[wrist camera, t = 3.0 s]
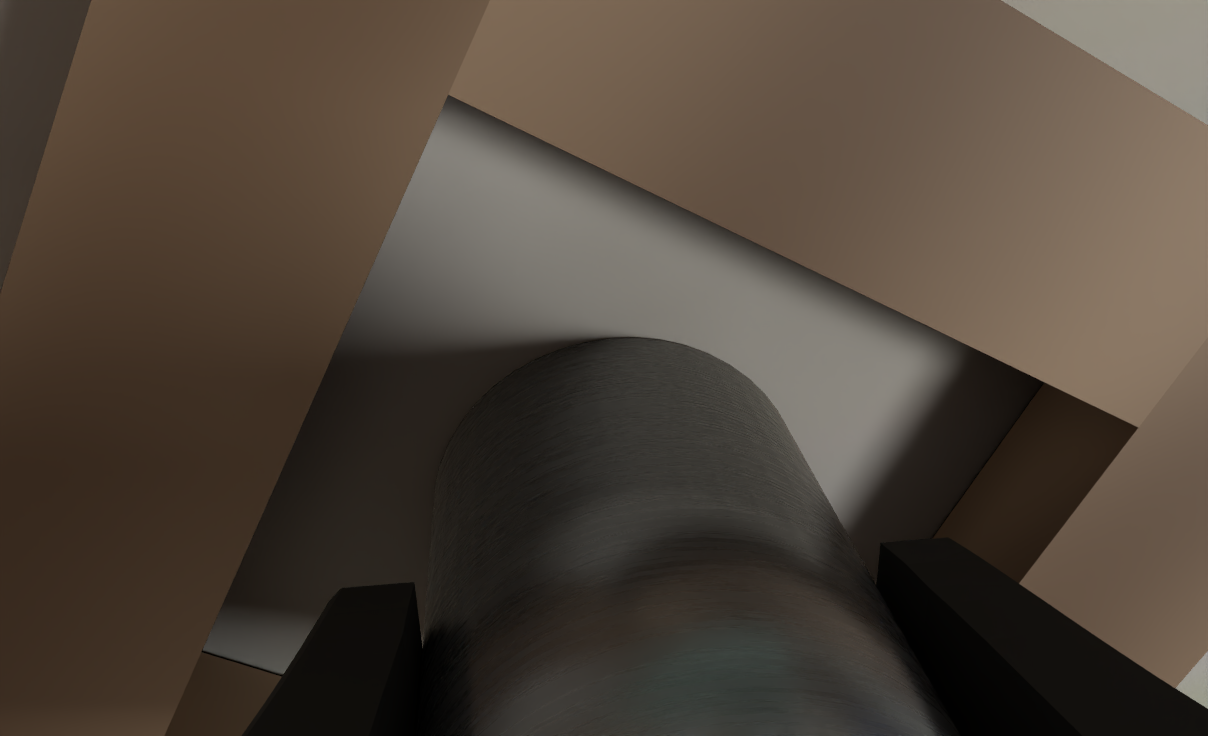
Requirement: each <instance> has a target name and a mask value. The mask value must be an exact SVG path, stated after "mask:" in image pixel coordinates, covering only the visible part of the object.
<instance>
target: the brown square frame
mask: <svg viewBox="0 0 1208 736" xmlns="http://www.w3.org/2000/svg"><path fill="white" fill-rule="evenodd" d="M448 95H450V96H452V97H454V98H456V99H458V100H460V101H462V102H465V103H467V104H469V105H471V106H473V107H475V108H477V109H479V110H481V111H483V112H485V113H487V114H489V115H491V116H494V117H496V118H498V119H500V120H502V121H504V122H506V123H508V124H510V125H512V126H514V127H516V128H518V129H521V130H523V131H525V132H527V133H529V134H531V135H533V136H535V137H537V138H539V139H541V140H543V141H545V142H547V143H550V144H552V145H554V146H556V147H558V148H560V149H562V150H564V151H566V152H568V153H570V154H572V155H574V156H576V157H579V158H581V159H583V160H585V161H587V162H589V163H591V164H593V165H595V166H597V167H599V168H601V169H603V170H606V171H608V172H610V173H612V174H614V175H616V176H618V177H620V178H622V179H624V180H626V181H628V182H630V183H632V184H635V185H637V186H639V187H641V188H643V189H645V190H647V191H649V192H651V193H653V194H655V195H657V196H659V197H661V198H664V199H666V200H668V201H670V202H672V203H674V204H676V205H678V206H680V207H682V208H684V209H686V210H688V211H691V212H693V213H695V214H697V215H699V216H701V217H703V218H705V219H707V220H709V221H711V222H713V223H715V224H717V225H720V226H722V227H724V228H726V229H728V230H730V231H732V232H734V233H736V234H738V235H740V236H742V237H744V238H747V239H749V240H751V241H753V242H755V243H757V244H759V245H761V246H763V247H765V248H767V249H769V250H771V251H773V252H776V253H778V254H780V255H782V256H784V257H786V258H788V259H790V260H792V261H794V262H796V263H798V264H800V265H802V266H805V267H807V268H809V269H811V270H813V271H815V272H817V273H819V274H821V275H823V276H825V277H827V278H829V279H832V280H834V281H836V282H838V283H840V284H842V285H844V286H846V287H848V288H850V289H852V290H854V291H856V292H858V293H861V294H863V295H865V296H867V297H869V298H871V299H873V300H875V301H877V302H879V303H881V304H883V305H885V306H888V307H890V308H892V309H894V310H896V311H898V312H900V313H902V314H904V315H906V316H908V317H910V318H912V319H914V320H917V321H919V322H921V323H923V324H925V325H927V326H929V327H931V328H933V329H935V330H937V331H939V332H941V333H943V334H946V335H948V336H950V337H952V338H954V339H956V340H958V341H960V342H962V343H964V344H966V345H968V346H970V347H973V348H975V349H977V350H979V351H981V352H983V353H985V354H987V355H989V356H991V357H993V358H995V359H997V360H999V361H1002V362H1004V363H1006V364H1008V365H1010V366H1012V367H1014V368H1016V369H1018V370H1020V371H1022V372H1024V373H1026V374H1028V375H1031V376H1033V377H1035V378H1037V379H1039V380H1041V381H1043V382H1044V384H1043V385H1042V387H1041V388H1040V389H1039V391H1038V392H1037V393H1036V395H1035V396H1034V398H1033V399H1032V400H1031V402H1030V403H1029V405H1028V406H1027V407H1026V409H1025V410H1024V412H1023V413H1022V414H1021V416H1020V417H1019V419H1018V420H1017V421H1016V423H1015V424H1014V426H1013V427H1012V428H1011V430H1010V431H1009V433H1008V434H1007V435H1006V437H1005V438H1004V439H1003V441H1002V442H1001V444H1000V445H999V446H998V448H997V449H996V451H995V452H994V453H993V455H992V456H991V458H990V459H989V460H988V462H987V463H986V465H985V466H984V467H983V469H982V470H981V472H980V473H979V474H978V476H977V477H976V479H975V480H974V481H973V483H972V484H971V486H970V487H969V488H968V490H967V491H966V492H965V494H964V495H963V497H962V498H961V499H960V501H959V502H958V504H957V505H956V506H955V508H954V509H953V511H952V512H951V513H950V515H949V516H948V518H947V519H946V520H945V522H944V523H943V525H942V526H941V527H940V529H939V530H938V532H937V533H936V534H935V536H934V537H933V538H932V539H934V538H946V537H948V538H950V539H952V540H953V541H955V542H957V543H958V544H960V545H962V546H963V547H965V548H967V549H968V550H970V551H971V552H973V553H974V554H976V555H977V556H979V557H980V558H982V559H983V560H985V561H986V562H988V563H989V564H991V565H992V566H994V567H995V568H997V569H998V570H1000V571H1001V572H1003V573H1004V574H1006V575H1007V576H1009V577H1010V578H1012V579H1013V580H1015V581H1016V582H1017V583H1019V584H1020V585H1022V586H1023V587H1025V588H1026V589H1028V590H1029V591H1031V592H1032V593H1034V594H1035V595H1036V596H1038V597H1039V598H1041V599H1042V600H1044V601H1045V602H1047V603H1048V604H1050V605H1051V606H1052V607H1054V608H1055V609H1057V610H1058V611H1060V612H1061V613H1063V614H1064V615H1066V616H1067V617H1069V618H1070V619H1071V620H1073V621H1074V622H1076V623H1077V624H1079V625H1080V626H1082V627H1083V628H1085V629H1086V630H1088V631H1089V632H1091V633H1092V634H1094V635H1095V636H1097V637H1098V638H1099V639H1101V640H1102V641H1104V642H1105V643H1107V644H1108V645H1110V646H1111V647H1113V648H1114V649H1116V650H1117V651H1119V652H1120V653H1122V654H1123V655H1125V656H1126V657H1128V658H1129V659H1131V660H1132V661H1134V662H1135V663H1137V664H1139V665H1140V666H1142V667H1143V668H1145V669H1146V670H1148V671H1149V672H1151V673H1152V674H1154V675H1155V676H1157V677H1158V678H1160V679H1161V680H1163V681H1165V682H1166V683H1168V684H1169V685H1171V686H1172V687H1174V688H1176V687H1177V686H1178V684H1179V683H1180V682H1181V681H1182V680H1183V679H1184V677H1185V676H1186V675H1187V674H1188V673H1189V672H1190V671H1191V669H1192V668H1193V667H1194V666H1195V665H1196V664H1197V662H1198V661H1199V660H1200V659H1201V658H1202V657H1203V656H1204V654H1205V653H1206V652H1207V651H1208V125H1206V124H1205V123H1203V122H1201V121H1200V120H1198V119H1196V118H1195V117H1193V116H1192V115H1190V114H1188V113H1187V112H1185V111H1183V110H1182V109H1180V108H1178V107H1177V106H1175V105H1173V104H1172V103H1170V102H1168V101H1167V100H1165V99H1163V98H1162V97H1160V96H1158V95H1157V94H1155V93H1153V92H1152V91H1150V90H1148V89H1147V88H1145V87H1144V86H1142V85H1140V84H1139V83H1137V82H1135V81H1134V80H1132V79H1130V78H1129V77H1127V76H1125V75H1124V74H1122V73H1120V72H1119V71H1117V70H1115V69H1114V68H1112V67H1110V66H1109V65H1107V64H1105V63H1104V62H1102V61H1100V60H1099V59H1097V58H1095V57H1094V56H1092V55H1091V54H1089V53H1087V52H1086V51H1084V50H1082V49H1081V48H1079V47H1077V46H1076V45H1074V44H1072V43H1071V42H1069V41H1067V40H1066V39H1064V38H1062V37H1061V36H1059V35H1057V34H1056V33H1054V32H1052V31H1051V30H1049V29H1047V28H1046V27H1044V26H1043V25H1041V24H1039V23H1038V22H1036V21H1034V20H1033V19H1031V18H1029V17H1028V16H1026V15H1024V14H1023V13H1021V12H1019V11H1018V10H1016V9H1014V8H1013V7H1011V6H1009V5H1008V4H1006V3H1004V2H1003V1H1001V0H91V2H90V6H89V9H88V12H87V15H86V19H85V22H84V25H83V28H82V31H81V35H80V38H79V41H78V44H77V48H76V51H75V54H74V57H73V60H72V64H71V67H70V70H69V73H68V77H67V80H66V83H65V86H64V89H63V93H62V96H61V99H60V102H59V106H58V109H57V112H56V115H55V118H54V122H53V125H52V128H51V131H50V134H49V138H48V141H47V144H46V147H45V151H44V154H43V157H42V160H41V163H40V167H39V170H38V173H37V176H36V180H35V183H34V186H33V189H32V192H31V196H30V199H29V202H28V205H27V209H26V212H25V215H24V218H23V221H22V225H21V228H20V231H19V234H18V238H17V241H16V244H15V247H14V250H13V254H12V257H11V260H10V263H9V266H8V270H7V273H6V276H5V279H4V283H3V286H2V289H1V292H0V736H242V734H243V733H244V731H245V730H246V729H247V727H248V726H249V724H250V723H251V722H252V720H253V719H254V717H255V716H256V715H257V713H258V712H259V710H260V709H261V707H262V706H263V705H264V703H265V702H266V700H267V699H268V697H269V696H270V694H271V693H272V691H273V690H274V688H275V687H276V685H277V683H278V682H279V680H280V679H281V676H278V675H275V674H272V673H268V672H265V671H262V670H258V669H255V668H252V667H248V666H245V665H242V664H239V663H235V662H232V661H229V660H225V659H222V658H219V657H215V656H212V655H209V654H205V653H202V650H203V647H204V645H205V643H206V641H207V638H208V636H209V634H210V632H211V629H212V627H213V625H214V623H215V620H216V618H217V616H218V613H219V611H220V609H221V607H222V604H223V602H224V600H225V598H226V595H227V593H228V591H229V589H230V586H231V584H232V582H233V580H234V577H235V575H236V573H237V571H238V568H239V566H240V564H241V562H242V559H243V557H244V555H245V553H246V550H247V548H248V546H249V543H250V541H251V539H252V537H253V534H254V532H255V530H256V528H257V525H258V523H259V521H260V519H261V516H262V514H263V512H264V510H265V507H266V505H267V503H268V501H269V498H270V496H271V494H272V492H273V489H274V487H275V485H276V482H277V480H278V478H279V476H280V473H281V471H282V469H283V467H284V464H285V462H286V460H287V458H288V455H289V453H290V451H291V449H292V446H293V444H294V442H295V440H296V437H297V435H298V433H299V431H300V428H301V426H302V424H303V421H304V419H305V417H306V415H307V412H308V410H309V408H310V406H311V403H312V401H313V399H314V397H315V394H316V392H317V390H318V388H319V385H320V383H321V381H322V379H323V376H324V374H325V372H326V370H327V367H328V365H329V363H330V361H331V358H332V356H333V354H334V351H335V349H336V347H337V345H338V342H339V340H340V338H341V336H342V333H343V331H344V329H345V327H346V324H347V322H348V320H349V318H350V315H351V313H352V311H353V309H354V306H355V304H356V302H357V300H358V297H359V295H360V293H361V290H362V288H363V286H364V284H365V281H366V279H367V277H368V275H369V272H370V270H371V268H372V266H373V263H374V261H375V259H376V257H377V254H378V252H379V250H380V248H381V245H382V243H383V241H384V239H385V236H386V234H387V232H388V229H389V227H390V225H391V223H392V220H393V218H394V216H395V214H396V211H397V209H398V207H399V205H400V202H401V200H402V198H403V196H404V193H405V191H406V189H407V187H408V184H409V182H410V180H411V178H412V175H413V173H414V171H415V169H416V166H417V164H418V162H419V159H420V157H421V155H422V153H423V150H424V148H425V146H426V144H427V141H428V139H429V137H430V135H431V132H432V130H433V128H434V126H435V123H436V121H437V119H438V117H439V114H440V112H441V110H442V108H443V105H444V103H445V101H446V98H447V96H448Z"/></svg>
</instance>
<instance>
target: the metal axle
mask: <svg viewBox="0 0 1208 736" xmlns="http://www.w3.org/2000/svg"><path fill="white" fill-rule="evenodd" d="M416 736H960V734H959V732H958V730H957V729H956V727H955V725H954V723H953V722H952V720H951V718H950V716H949V714H948V713H947V711H946V709H945V707H944V706H943V704H942V702H941V700H940V698H939V697H938V695H937V693H936V691H935V690H934V688H933V686H932V684H931V682H930V681H929V679H928V677H927V675H926V673H925V672H924V670H923V668H922V666H921V665H920V663H919V661H918V659H917V657H916V656H915V654H914V652H913V650H912V649H911V647H910V645H909V643H908V641H907V640H906V638H905V636H904V634H903V633H902V631H901V629H900V627H899V625H898V624H897V622H896V620H895V618H894V617H893V615H892V613H891V611H890V609H889V608H888V606H887V604H886V602H885V601H884V599H883V597H882V595H881V593H880V592H879V590H878V588H877V586H876V585H875V583H874V581H873V579H872V577H871V576H870V574H869V572H868V570H867V568H866V567H865V565H864V563H863V561H862V560H861V558H860V556H859V554H858V552H857V551H856V549H855V547H854V545H853V544H852V542H851V540H850V538H849V536H848V535H847V533H846V531H845V529H844V528H843V526H842V524H841V522H840V520H839V519H838V517H837V515H836V513H835V512H834V510H833V508H832V506H831V504H830V503H829V501H828V499H827V497H826V496H825V494H824V492H823V490H822V488H821V487H820V485H819V483H818V481H817V480H816V478H815V476H814V474H813V472H812V471H811V469H810V467H809V465H808V464H807V462H806V460H805V458H804V456H803V455H802V453H801V451H800V449H799V447H798V446H797V444H796V442H795V440H794V439H793V437H792V435H791V433H790V431H789V430H788V428H787V426H786V424H785V423H784V421H783V419H782V417H781V415H780V414H779V412H778V410H777V409H776V408H775V406H774V405H773V404H772V402H771V401H770V400H769V399H768V397H767V396H766V395H765V393H763V392H762V391H761V390H760V389H759V388H758V387H757V386H756V385H755V384H754V383H753V382H752V381H751V380H750V379H749V378H748V377H746V376H745V375H743V374H742V373H741V372H739V371H738V370H736V369H735V368H734V367H732V366H731V365H729V364H727V363H725V362H724V361H722V360H720V359H718V358H716V357H714V356H712V355H710V354H708V353H705V352H702V351H700V350H697V349H694V348H691V347H689V346H686V345H681V344H677V343H672V342H668V341H663V340H654V339H643V338H614V339H605V340H598V341H592V342H585V343H582V344H578V345H574V346H571V347H567V348H563V349H560V350H557V351H555V352H553V353H550V354H548V355H545V356H543V357H540V358H538V359H536V360H534V361H532V362H530V363H529V364H527V365H525V366H523V367H521V368H520V369H518V370H516V371H514V372H513V373H511V374H510V375H509V376H507V377H506V378H505V379H503V380H502V381H501V382H499V383H498V384H497V385H495V386H494V387H493V388H492V389H491V390H490V391H489V392H488V393H486V394H485V395H484V396H483V397H482V398H481V399H480V400H479V401H478V402H477V403H476V404H475V405H474V407H473V408H472V409H471V410H470V412H469V413H468V414H467V415H466V417H465V418H464V419H463V420H462V422H461V423H460V425H459V427H458V428H457V430H456V432H455V433H454V435H453V437H452V438H451V440H450V442H449V444H448V446H447V449H446V451H445V454H444V456H443V458H442V461H441V464H440V468H439V472H438V476H437V480H436V484H435V494H434V505H433V518H432V532H431V545H430V558H429V571H428V584H427V598H426V611H425V624H424V637H423V653H422V666H421V679H420V693H419V706H418V719H417V732H416Z"/></svg>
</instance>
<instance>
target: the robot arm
mask: <svg viewBox="0 0 1208 736" xmlns="http://www.w3.org/2000/svg"><path fill="white" fill-rule="evenodd" d="M876 586H877V588H878V590H879V592H880V593H881V595H882V597H883V599H884V601H885V602H886V604H887V606H888V608H889V609H890V611H891V613H892V615H893V617H894V618H895V620H896V622H897V624H898V625H899V627H900V629H901V631H902V633H903V634H904V636H905V638H906V640H907V641H908V643H909V645H910V647H911V649H912V650H913V652H914V654H915V656H916V657H917V659H918V661H919V663H920V665H921V666H922V668H923V670H924V672H925V673H926V675H927V677H928V679H929V681H930V682H931V684H932V686H933V688H934V690H935V691H936V693H937V695H938V697H939V698H940V700H941V702H942V704H943V706H944V707H945V709H946V711H947V713H948V714H949V716H950V718H951V720H952V722H953V723H954V725H955V727H956V729H957V730H958V732H959V734H960V736H1208V709H1207V708H1205V707H1204V706H1202V705H1201V704H1199V703H1198V702H1196V701H1194V700H1193V699H1191V698H1190V697H1188V696H1186V695H1185V694H1183V693H1182V692H1180V691H1178V690H1177V689H1175V688H1174V687H1172V686H1171V685H1169V684H1168V683H1166V682H1165V681H1163V680H1161V679H1160V678H1158V677H1157V676H1155V675H1154V674H1152V673H1151V672H1149V671H1148V670H1146V669H1145V668H1143V667H1142V666H1140V665H1139V664H1137V663H1135V662H1134V661H1132V660H1131V659H1129V658H1128V657H1126V656H1125V655H1123V654H1122V653H1120V652H1119V651H1117V650H1116V649H1114V648H1113V647H1111V646H1110V645H1108V644H1107V643H1105V642H1104V641H1102V640H1101V639H1099V638H1098V637H1097V636H1095V635H1094V634H1092V633H1091V632H1089V631H1088V630H1086V629H1085V628H1083V627H1082V626H1080V625H1079V624H1077V623H1076V622H1074V621H1073V620H1071V619H1070V618H1069V617H1067V616H1066V615H1064V614H1063V613H1061V612H1060V611H1058V610H1057V609H1055V608H1054V607H1052V606H1051V605H1050V604H1048V603H1047V602H1045V601H1044V600H1042V599H1041V598H1039V597H1038V596H1036V595H1035V594H1034V593H1032V592H1031V591H1029V590H1028V589H1026V588H1025V587H1023V586H1022V585H1020V584H1019V583H1017V582H1016V581H1015V580H1013V579H1012V578H1010V577H1009V576H1007V575H1006V574H1004V573H1003V572H1001V571H1000V570H998V569H997V568H995V567H994V566H992V565H991V564H989V563H988V562H986V561H985V560H983V559H982V558H980V557H979V556H977V555H976V554H974V553H973V552H971V551H970V550H968V549H967V548H965V547H963V546H962V545H960V544H958V543H957V542H955V541H953V540H952V539H950V538H948V537H946V538H934V539H922V540H910V541H898V542H886V543H881V546H880V555H879V565H878V575H877V585H876ZM422 653H423V649H422V641H421V633H420V624H419V616H418V608H417V600H416V592H415V584H414V582H409V583H398V584H386V585H374V586H362V587H350V588H341V589H340V590H339V591H338V592H337V593H336V594H335V595H334V596H333V597H332V599H331V600H330V601H329V602H328V604H327V606H326V607H325V609H324V611H323V612H322V614H321V616H320V617H319V619H318V621H317V622H316V624H315V626H314V627H313V629H312V630H311V632H310V634H309V635H308V637H307V639H306V640H305V642H304V643H303V645H302V647H301V648H300V650H299V651H298V653H297V654H296V656H295V658H294V659H293V661H292V662H291V664H290V665H289V667H288V668H287V670H286V671H285V673H284V674H283V676H282V677H281V679H280V680H279V682H278V683H277V685H276V687H275V688H274V690H273V691H272V693H271V694H270V696H269V697H268V699H267V700H266V702H265V703H264V705H263V706H262V707H261V709H260V710H259V712H258V713H257V715H256V716H255V717H254V719H253V720H252V722H251V723H250V724H249V726H248V727H247V729H246V730H245V731H244V733H243V734H242V736H416V732H417V719H418V706H419V693H420V679H421V666H422Z"/></svg>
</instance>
